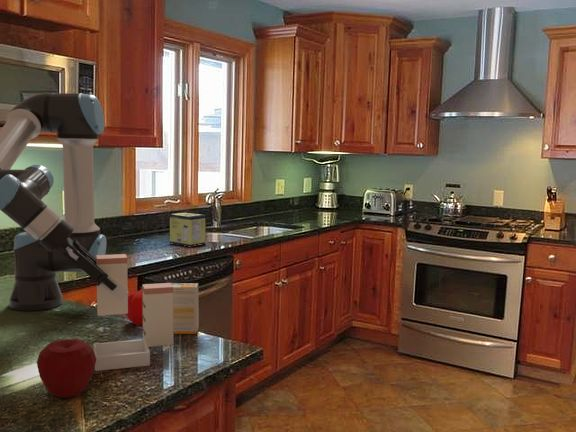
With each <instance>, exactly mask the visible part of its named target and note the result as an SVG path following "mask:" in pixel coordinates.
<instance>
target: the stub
mask: <svg viewBox="0 0 576 432" xmlns="http://www.w3.org/2000/svg"><path fill="white" fill-rule="evenodd" d="M96 265H97V266H98V267H99V268H100V269H101V270H102V271H104V272H105V273H106V274H107V275H110V276H111V277H112V278H113V279H114V280H115V281H116V282H118V283H119V284H120V285H121V286H122V287H123V288H125V289H126V290H127V291H128V292H129V289H128V285H129V284H128V283H129V282H128V279H129V277H128V257H127V253H121V254H119V253H118V254H117V253H116V254H105V255H96ZM128 296H129V293H128V294H127V295H126V296H125V297H124V298H123V299H122V300H121V301H120V300H119V299H118V298H117V297H116V296H114V295H113V294H112V293H111V292H110V291H109V290H107V289H106V288H105V287H104V286H103V285H102V284H100V285H99V286H98V285H96V302H97V303H96V309H97V311H96V312H97V317H102V316H113V315H114V316H115V315H116V316H117V315H126V314H128Z"/></svg>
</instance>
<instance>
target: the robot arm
mask: <svg viewBox="0 0 576 432" xmlns="http://www.w3.org/2000/svg"><path fill="white" fill-rule="evenodd" d="M5 117H6V119H5V123H4V125H3V126H2V128H1V129H0V211H1V212H2V213H3V214H4V215H6V216H7V217H8V218H10V220H11V221H14V223H16V224H17V225H18V226H19V227H20V228H21V229H23V230H24V232H20V233H18V234H16V235H15V236H14V238H13V248H12V250H13V260H14V261H13V262H14V284H13V287H12V290H11V294H10V297H9V300H8V301H9V303H8V304H9V308H10V309H12V310H14V311H15V310H16V311H20V312H21V311H22V312H23V311H24V312H28V311H30V312H31V311H42V310H49V309H54V308H55V307H59V306H61V305H62V304H63V294H62V291H61V288H60V286H59V284H58V279H57V273H58V272H59V273H63V272H64V273H82V274H84V273H86V275H87V276H89V277H90V278H91V279H93V281H94V282H96V286H97V285H98V286H99V285H100V284H102V285H103V286H104V287H105V288H106V289H107V290H109V291H110V292H111V293H112V294H113V295H114V296H116V297H117V298H118V299H119V300H120V301H121V300H122V299H123V298H124V297H125V296H126V295H127V294H128V295H129V294H130V292H129V290H128V291H127V290H126V289H125V288H123V287H122V286H121V285H120V284H119V283H118V282H116V281H115V280H114V279H113V278H112V277H111V276H110V275H107V274H106V273H105V272H104V271H102V270H101V269H100V268H99V267H98V266H97V265H96V255H106V252H107V237H106V235H104V234H101V228H100V227H99V226H98V225H97V224H96V223H95V191H94V190H95V185H94V184H95V182H94V178H95V177H94V146H95V144H96V142H98V141H99V135H101V134H103V133H104V131H105V117H104V111H103V107H102V104H101V103H100V100H99V99H98V97H97V96H96V95H94V94H88V93H67V92H65V93H62V92H61V93H59V92H58V93H57V92H56V93H54V92H53V93H52V92H43V93H42V92H41V93H37V94H33V95H32V96H30V97H27V98H25V99H24V100H22V101H21V102H18V103H17V105H15V106H14V107H13V108H12V109H11V110H10V111H9V112H8V113H7V115H6V116H5ZM43 133H52V134H53V133H54V134H55V133H56V139H57V141H58V142H59V143H61V145H62V159H63V160H62V161H63V162H62V163H63V164H62V165H63V167H62V168H63V200H64V205H63V207H64V219H60V218H61V216H60V215H59V214H58V213H57V212H56V211H55V210H53V208H51V207H50V206H49V205H47V204H46V203H45V202H44V201H43V198H45V196H47V195H48V194H49V192H50V190H51V189H52V187H53V186H54V176H53V174H52V172H51V171H50V170H49V168H48V167H46V166H43V165H41V164H32V165H30V166H27V167H26V168H24V169H12V167H13V165H15V163H16V161H17V160H18V159H19V157H20V156H21V154H22V153H23V151H24V150H25V148H26V147H27V145H28V144H29V143H30V141H31V140H33V139H35V138H36V137H38V136H39V135H40V134H43Z"/></svg>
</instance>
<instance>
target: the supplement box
mask: <svg viewBox="0 0 576 432" xmlns="http://www.w3.org/2000/svg"><path fill="white" fill-rule="evenodd" d="M170 283H171V284H172V286H173V335H197V334H198V331H199V325H200V323H199V322H200V321H199V320H200V319H199V318H200V317H199V316H200V315H199V311H200V309H199V283H198V282H197V283H196V282H195V283H194V282H193V283H192V282H191V283H190V282H189V283H186V282H184V283H182V282H181V283H180V282H179V283H178V282H170ZM196 333H197V334H196Z"/></svg>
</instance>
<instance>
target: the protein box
mask: <svg viewBox="0 0 576 432" xmlns="http://www.w3.org/2000/svg"><path fill="white" fill-rule="evenodd" d="M170 243H173V244H178V245H186V246H194V245H198V244H205V245H206V215H205V214H199V213H188V212H177V213H170V214H169V244H170ZM178 245H177V246H178Z"/></svg>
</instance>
